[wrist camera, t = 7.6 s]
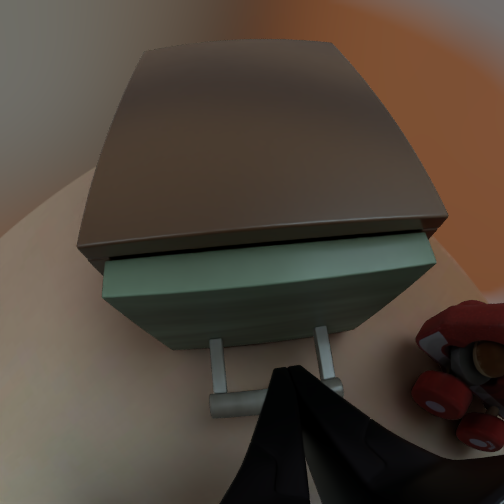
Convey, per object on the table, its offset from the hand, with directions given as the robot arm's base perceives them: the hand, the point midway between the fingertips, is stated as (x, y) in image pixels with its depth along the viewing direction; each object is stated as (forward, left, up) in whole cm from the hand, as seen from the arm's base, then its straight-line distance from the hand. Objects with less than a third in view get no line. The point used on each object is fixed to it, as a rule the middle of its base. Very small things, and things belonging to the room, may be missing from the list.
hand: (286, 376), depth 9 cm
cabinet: (+9, +5, -8) cm, 13 cm away
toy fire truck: (+4, -13, -8) cm, 16 cm away
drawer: (+6, +3, -7) cm, 9 cm away
